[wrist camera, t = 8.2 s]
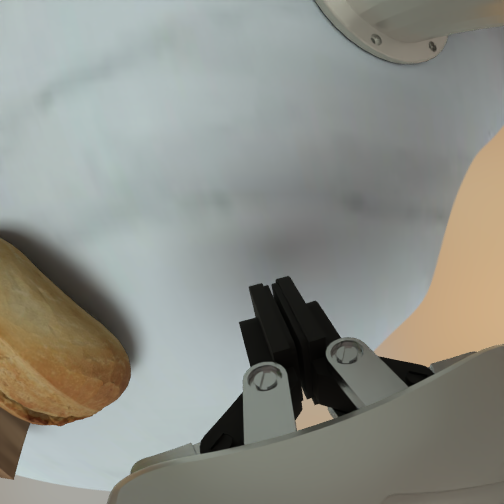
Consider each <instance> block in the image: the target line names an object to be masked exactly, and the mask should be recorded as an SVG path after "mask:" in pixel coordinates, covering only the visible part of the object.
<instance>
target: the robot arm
mask: <svg viewBox="0 0 504 504" xmlns="http://www.w3.org/2000/svg"><path fill="white" fill-rule="evenodd" d="M315 1H316V3H317V4H318V5H319V7H320V8H321V10H322V12H323V13H324V14H325V15H326V16H327V18H328V19H329V20H330V21H331V22H332V23H333V24H334V26H335V27H336V28H337V29H339V30H340V31H341V32H342V33H343V34H344V35H345V36H346V37H347V38H348V39H350V40H351V41H352V42H354V43H355V44H357V45H358V46H359V47H361V48H362V49H364V50H366V51H367V52H369V53H371V54H373V55H375V56H377V57H379V58H382V59H384V60H387V61H390V62H394V63H400V64H416V63H420V62H425V61H428V60H430V59H432V58H434V57H436V56H437V55H438V54H439V53H440V52H441V51H442V49H443V48H444V46H445V44H446V42H447V38H448V35H451V34H456V33H462V32H467V31H473V30H479V29H485V28H492V27H500V26H504V0H315ZM249 290H250V295H251V299H252V303H253V308H254V312H255V316H256V318H253V319H249V320H245V321H241V322H239V324H240V328H241V332H242V336H243V340H244V344H245V348H246V351H247V355H248V359H249V363H250V368H249V369H248V370H247V371H246V373H245V374H244V376H243V392H242V394H241V395H240V396H239V397H238V398H237V400H236V401H235V402H234V403H233V404H232V405H231V407H230V408H229V409H228V410H227V411H226V412H225V413H224V415H223V416H222V417H221V418H220V419H219V420H218V421H217V423H216V424H215V425H214V426H213V427H212V428H211V429H210V430H209V431H208V433H207V434H206V435H205V436H204V437H203V439H202V440H201V442H200V443H197V444H194V445H192V443H189V444H186V445H184V446H181V447H178V448H175V449H172V450H169V451H166V452H163V453H160V454H157V455H154V456H151V457H147V458H144V459H142V460H140V461H138V462H136V463H135V465H134V466H133V467H132V469H131V474H130V475H129V476H127V477H125V478H124V479H122V480H121V481H119V482H118V483H117V484H116V485H115V486H114V488H113V489H112V491H111V493H110V495H109V498H108V501H107V504H504V344H502V345H496V346H492V347H489V348H486V349H483V350H481V351H478V352H469V353H466V354H463V355H460V356H456V357H453V358H450V359H446V360H443V361H439V362H436V363H432V364H431V365H430V367H428V368H427V367H426V366H423V365H419V364H414V363H408V362H404V361H399V360H394V359H389V358H384V357H379V356H377V355H376V354H375V353H374V352H373V351H372V350H371V349H370V348H369V347H368V346H367V345H366V344H365V343H364V342H362V341H361V340H359V339H356V338H351V337H346V338H341V337H340V336H339V334H338V333H337V331H336V330H335V328H334V326H333V325H332V323H331V322H330V320H329V319H328V317H327V316H326V314H325V313H324V311H323V310H322V308H321V307H320V305H319V304H318V302H317V301H313V302H310V303H305V301H304V300H303V298H302V296H301V295H300V293H299V291H298V290H297V288H296V286H295V285H294V283H293V281H292V280H291V278H290V277H289V276H287V277H283V278H279V279H276V283H274V284H272V290H273V295H272V293H271V291H270V288H269V286H268V285H267V286H263V284H262V283H261V284H257V285H253V286H249ZM273 296H274V297H273ZM301 386H302V387H301ZM302 389H303V391H304V394H305V396H306V398H307V399H310V398H312V400H313V402H314V404H315V405H316V404H321V405H324V406H327V407H328V410H329V413H330V414H331V415H332V417H333V418H334V419H332V420H329V421H326V422H323V423H320V424H317V425H314V426H311V427H308V428H305V429H302V430H299V431H297V428H296V422H295V420H296V418H297V417H298V415H299V414H300V412H301V411H302V403H301V401H303V394H302Z"/></svg>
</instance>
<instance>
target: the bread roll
mask: <svg viewBox="0 0 504 504" xmlns="http://www.w3.org/2000/svg"><path fill="white" fill-rule="evenodd" d="M130 378H131V368H130V363H129V358H128V356H127V353H126V351H125V350H124V348H123V346H122V345H121V343H120V341H119V340H118V339H117V338H116V337H115V336H114V335H113V334H112V333H111V332H110V331H109V330H108V329H106V328H105V327H104V326H103V325H102V324H101V323H100V322H99V321H97V320H96V319H95V318H93V317H92V316H91V315H89V314H88V313H87V312H86V311H84V310H83V309H82V308H81V307H80V306H78V305H77V304H76V303H75V302H74V301H73V300H72V299H71V298H70V297H68V296H67V295H65V294H64V292H63V291H62V290H60V289H59V288H58V287H57V286H56V285H55V284H54V283H53V282H52V281H50V280H49V279H48V278H47V277H46V276H45V275H44V274H43V273H42V272H41V271H40V270H39V269H38V268H37V267H36V266H35V265H34V264H33V263H32V262H31V261H30V260H29V259H28V258H27V257H26V256H25V255H24V254H23V253H22V252H21V251H19V250H18V249H17V248H15V247H14V246H13V245H12V244H10V243H8V242H7V241H5V240H3V239H2V238H0V407H1V408H3V409H4V410H6V411H7V412H9V413H10V414H12V415H14V416H15V417H18V418H20V419H22V420H24V421H27V422H29V423H32V424H38V425H57V426H63V425H65V424H67V423H70V422H74V421H76V420H81V419H84V418H87V417H90V416H93V414H96V413H97V412H98V411H101V410H102V409H103V408H104V407H106V406H108V405H109V404H111V403H112V402H114V401H115V400H117V399H118V398H119V397H120V396H121V394H122V393H123V392H124V391H125V389H126V388H127V386H128V383H129V380H130Z"/></svg>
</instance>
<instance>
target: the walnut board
mask: <svg viewBox="0 0 504 504" xmlns="http://www.w3.org/2000/svg"><path fill="white" fill-rule="evenodd" d="M29 425H30V423H29V422H27V421H24V420H22V419H20V418H18V417H15V416H14V415H12V414H10V413H9V412H7V411H6V410H4V409H3V408H1V407H0V477H1V478H7V479H13V480H14V476H15V472H16V469H17V465H18V461H19V457H20V454H21V450H22V447H23V444H24V440H25V437H26V434H27V431H28V428H29Z"/></svg>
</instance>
